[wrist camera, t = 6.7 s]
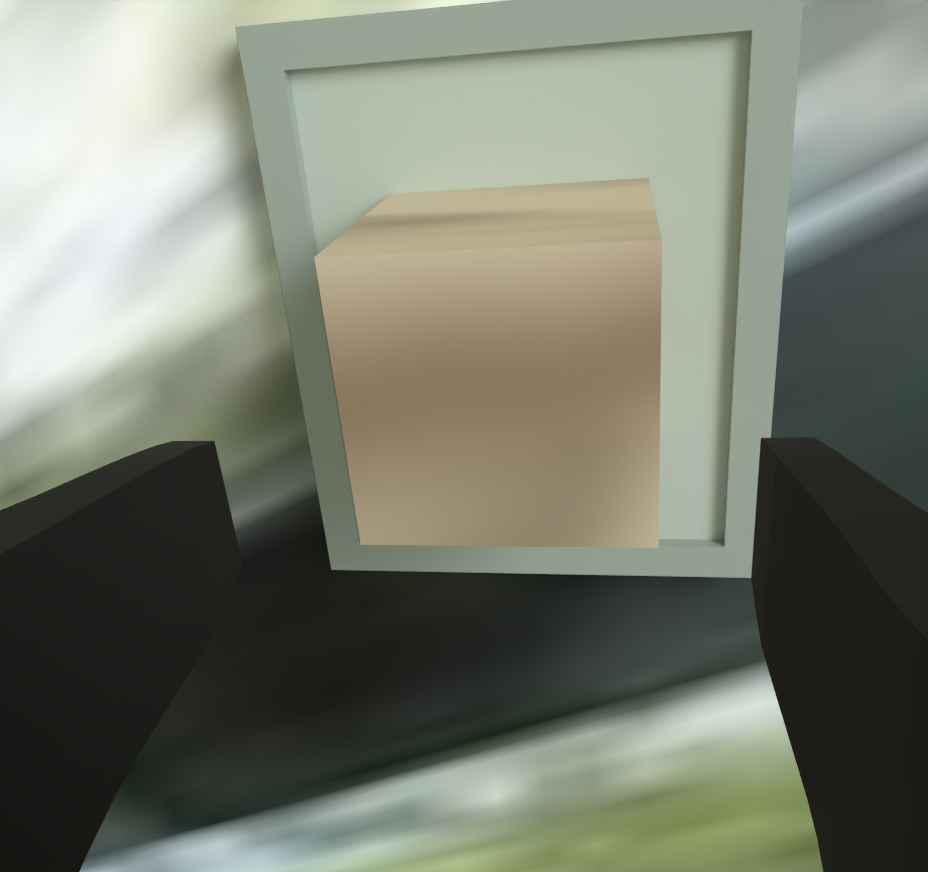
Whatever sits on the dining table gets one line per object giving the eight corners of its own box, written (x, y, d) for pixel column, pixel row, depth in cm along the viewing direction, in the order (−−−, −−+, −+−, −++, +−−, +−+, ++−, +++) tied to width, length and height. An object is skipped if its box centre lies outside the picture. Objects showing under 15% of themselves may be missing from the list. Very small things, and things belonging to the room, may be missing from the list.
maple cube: (647, 418, 18) (658, 547, 14) (418, 422, 19) (360, 544, 15) (648, 177, 16) (661, 239, 12) (390, 194, 17) (313, 256, 13)
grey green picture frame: (753, 550, 20) (760, 578, 19) (343, 545, 22) (331, 569, 21) (793, -26, 15) (806, -28, 14) (257, 26, 17) (234, 26, 16)
